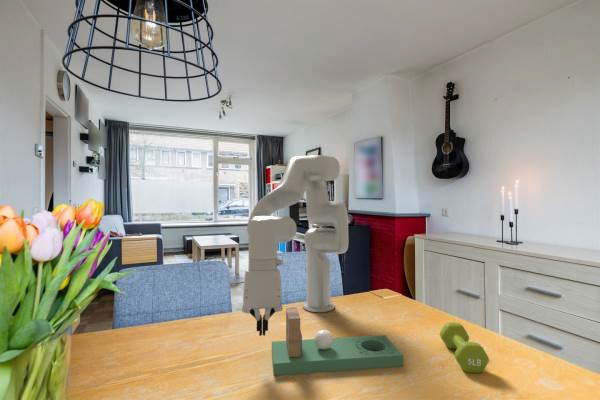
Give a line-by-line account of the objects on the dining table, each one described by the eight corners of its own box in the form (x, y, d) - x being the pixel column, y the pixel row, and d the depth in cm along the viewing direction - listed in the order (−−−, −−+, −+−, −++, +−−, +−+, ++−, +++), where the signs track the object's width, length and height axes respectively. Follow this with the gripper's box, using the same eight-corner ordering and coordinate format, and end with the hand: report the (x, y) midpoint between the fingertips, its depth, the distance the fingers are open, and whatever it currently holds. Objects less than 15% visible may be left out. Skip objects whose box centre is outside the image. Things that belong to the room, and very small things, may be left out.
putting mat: (271, 351, 91) (271, 341, 91) (385, 344, 96) (385, 334, 96) (273, 375, 79) (273, 363, 79) (403, 366, 84) (403, 354, 84)
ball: (313, 344, 89) (313, 327, 89) (330, 343, 90) (330, 326, 90) (316, 353, 84) (316, 335, 84) (334, 352, 85) (334, 334, 85)
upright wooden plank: (286, 342, 90) (286, 307, 90) (298, 342, 90) (298, 307, 90) (288, 357, 82) (288, 318, 82) (302, 356, 82) (302, 318, 82)
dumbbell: (491, 376, 79) (491, 348, 79) (457, 374, 80) (457, 345, 80) (466, 345, 96) (466, 321, 95) (438, 343, 97) (438, 320, 97)
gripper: (289, 261, 89) (289, 326, 89) (235, 262, 87) (234, 329, 87) (292, 266, 82) (291, 338, 82) (232, 268, 80) (232, 341, 80)
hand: (262, 333), depth 85 cm, fingers closed
